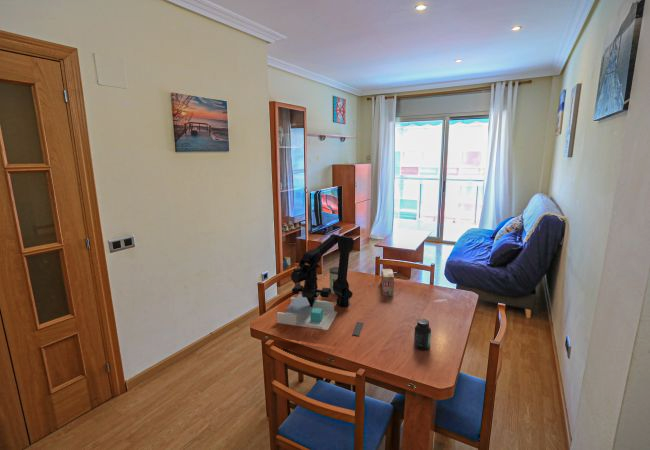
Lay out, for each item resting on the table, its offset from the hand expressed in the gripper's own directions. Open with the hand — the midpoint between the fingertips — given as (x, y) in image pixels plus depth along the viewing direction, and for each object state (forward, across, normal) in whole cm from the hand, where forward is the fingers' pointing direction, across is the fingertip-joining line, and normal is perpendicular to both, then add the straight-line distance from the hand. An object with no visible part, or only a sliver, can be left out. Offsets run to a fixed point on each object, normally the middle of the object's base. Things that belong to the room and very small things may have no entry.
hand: (311, 306), depth 168 cm
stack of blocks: (+8, +32, +51) cm, 61 cm away
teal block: (+7, +3, 0) cm, 7 cm away
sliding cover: (+1, -6, +2) cm, 6 cm away
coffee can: (+8, +4, +39) cm, 40 cm away
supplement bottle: (+8, +54, -9) cm, 55 cm away
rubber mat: (+8, +20, -2) cm, 21 cm away
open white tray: (+8, -2, +2) cm, 8 cm away
